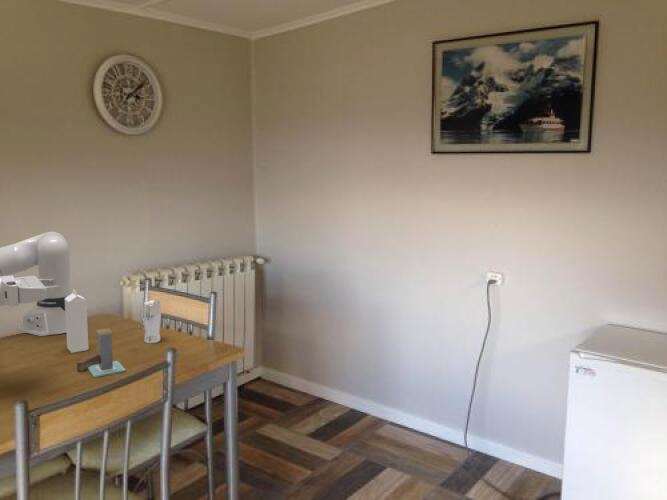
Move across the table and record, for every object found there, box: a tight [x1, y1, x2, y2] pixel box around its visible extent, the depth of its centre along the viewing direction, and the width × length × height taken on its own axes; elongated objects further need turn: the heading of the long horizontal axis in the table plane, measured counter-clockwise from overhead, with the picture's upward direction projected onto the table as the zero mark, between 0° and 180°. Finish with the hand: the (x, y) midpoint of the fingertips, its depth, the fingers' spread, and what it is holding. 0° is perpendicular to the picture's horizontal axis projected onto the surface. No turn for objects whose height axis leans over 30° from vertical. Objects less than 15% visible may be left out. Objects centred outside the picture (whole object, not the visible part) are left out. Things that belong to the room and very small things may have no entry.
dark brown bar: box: [76, 351, 99, 373], centre depth 196 cm, size 2×12×3 cm, turn 165°
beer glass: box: [141, 300, 162, 344], centre depth 222 cm, size 7×7×15 cm
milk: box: [65, 288, 89, 354], centre depth 210 cm, size 6×6×22 cm
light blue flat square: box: [87, 360, 127, 378], centre depth 193 cm, size 10×10×1 cm
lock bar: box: [96, 327, 114, 370], centre depth 191 cm, size 4×4×13 cm
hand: (57, 285), depth 182 cm, fingers open, 8 cm apart
